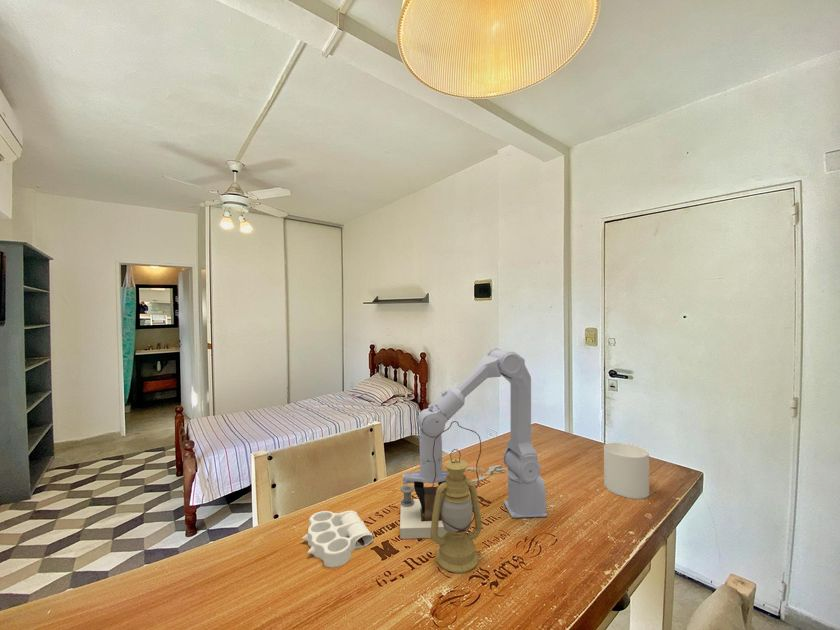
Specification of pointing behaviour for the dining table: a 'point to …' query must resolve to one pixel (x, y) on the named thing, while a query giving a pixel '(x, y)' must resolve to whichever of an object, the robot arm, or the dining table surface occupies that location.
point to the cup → (626, 470)
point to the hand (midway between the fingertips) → (431, 510)
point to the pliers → (491, 470)
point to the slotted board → (415, 518)
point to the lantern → (456, 517)
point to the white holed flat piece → (336, 536)
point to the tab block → (429, 502)
